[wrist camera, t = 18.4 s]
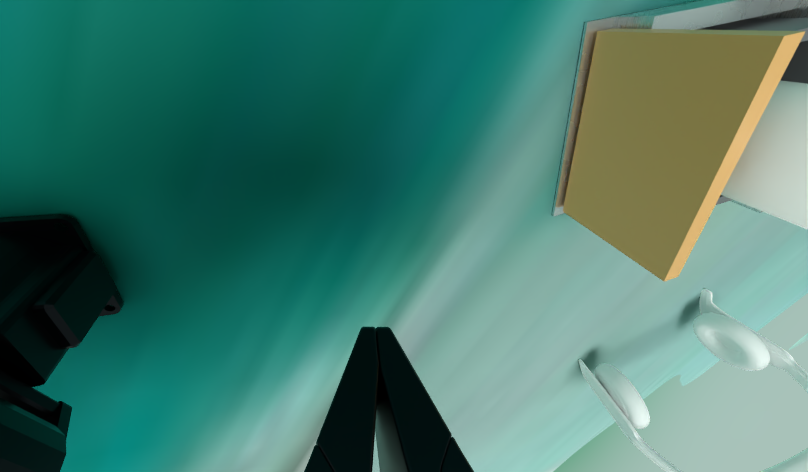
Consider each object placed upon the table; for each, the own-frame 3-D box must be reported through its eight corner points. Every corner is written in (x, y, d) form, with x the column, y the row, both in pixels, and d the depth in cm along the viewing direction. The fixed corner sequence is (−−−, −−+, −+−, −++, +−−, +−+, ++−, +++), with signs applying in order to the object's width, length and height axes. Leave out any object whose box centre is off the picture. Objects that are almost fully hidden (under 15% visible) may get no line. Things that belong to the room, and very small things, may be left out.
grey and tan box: (562, 211, 25) (663, 281, 18) (597, 31, 18) (784, 36, 11) (678, 177, 27) (810, 229, 20) (751, 0, 20) (994, -12, 13)
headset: (572, 378, 44) (703, 546, 30) (571, 353, 40) (725, 535, 26) (696, 316, 45) (883, 451, 31) (709, 284, 41) (933, 425, 26)
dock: (551, 215, 25) (614, 261, 21) (584, 22, 18) (696, 21, 13) (684, 175, 28) (770, 209, 23) (765, -12, 20) (921, -24, 15)
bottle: (610, 139, 21) (918, 252, 11) (683, 49, 19) (1158, 80, 9) (650, 174, 24) (922, 289, 14) (717, 99, 22) (1101, 168, 11)
